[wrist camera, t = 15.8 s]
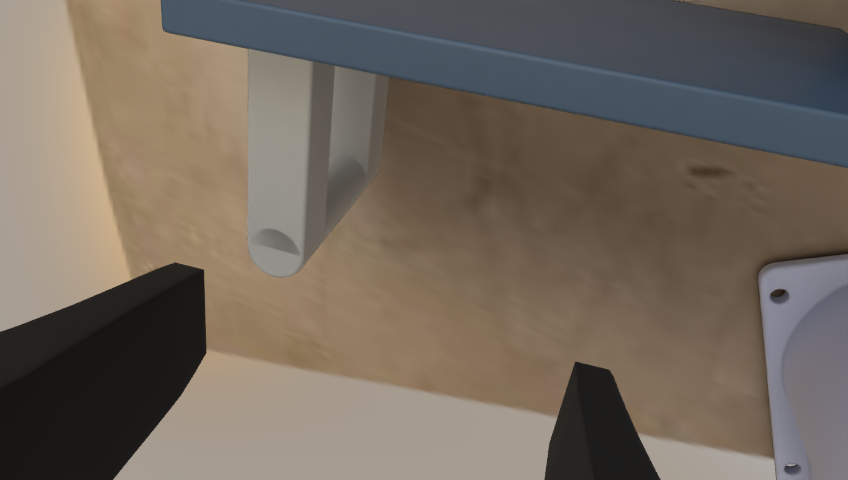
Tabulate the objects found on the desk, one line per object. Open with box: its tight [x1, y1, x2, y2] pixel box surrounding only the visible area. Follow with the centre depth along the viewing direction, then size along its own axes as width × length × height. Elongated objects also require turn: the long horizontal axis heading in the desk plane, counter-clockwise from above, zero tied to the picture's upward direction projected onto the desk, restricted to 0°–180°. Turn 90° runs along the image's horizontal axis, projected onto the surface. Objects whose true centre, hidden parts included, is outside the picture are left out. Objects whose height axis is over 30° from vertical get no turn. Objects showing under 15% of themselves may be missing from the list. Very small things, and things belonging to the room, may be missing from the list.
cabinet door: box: [161, 0, 848, 278], centre depth 16 cm, size 6×14×9 cm, turn 83°
